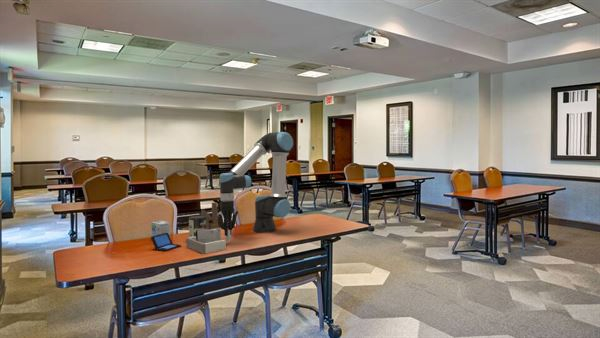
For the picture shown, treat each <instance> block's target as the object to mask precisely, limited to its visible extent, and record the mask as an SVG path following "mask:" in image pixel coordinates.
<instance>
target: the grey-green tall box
mask: <svg viewBox="0 0 600 338" xmlns="http://www.w3.org/2000/svg"><path fill="white" fill-rule="evenodd" d="M204 229H206V216H202V214H201V215H190V216H189V217H188V230H189V231H188V234H189V235H188V238H189V237H195V236H196V230H204Z"/></svg>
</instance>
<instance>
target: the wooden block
mask: <svg viewBox="0 0 600 338" xmlns="http://www.w3.org/2000/svg"><path fill="white" fill-rule="evenodd" d="M217 213H218V202H216V201H214V202H213V201H212V202H211V215H210V214H209V212H207V211H206V210H205V209H201V215H202V216H206V229H216V228H220V223H218V222H219V219H218V216H217ZM210 220H211V223H210Z"/></svg>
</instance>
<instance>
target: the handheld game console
mask: <svg viewBox="0 0 600 338" xmlns="http://www.w3.org/2000/svg"><path fill="white" fill-rule="evenodd" d="M150 240H151V243H152V244H153V246H154V248H155V251H159V252H168V251H172V250H175V249H179V248H181V247H182V245H181V244H176V243H173V240H172V239H171V235H170V236H169V234H168V233H164V234H160V235H156V236H152V235H151V237H150Z"/></svg>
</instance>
